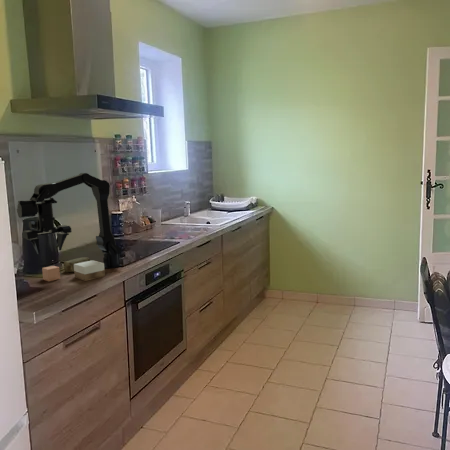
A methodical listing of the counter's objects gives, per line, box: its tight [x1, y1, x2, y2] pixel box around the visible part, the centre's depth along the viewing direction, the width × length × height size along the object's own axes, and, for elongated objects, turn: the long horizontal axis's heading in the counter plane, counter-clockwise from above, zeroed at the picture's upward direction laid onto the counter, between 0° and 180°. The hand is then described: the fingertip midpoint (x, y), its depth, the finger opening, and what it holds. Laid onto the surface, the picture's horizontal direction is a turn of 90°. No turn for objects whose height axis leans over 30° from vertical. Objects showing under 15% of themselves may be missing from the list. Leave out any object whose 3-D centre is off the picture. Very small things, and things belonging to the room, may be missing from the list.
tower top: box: [74, 259, 105, 274], centre depth 195 cm, size 9×9×3 cm
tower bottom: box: [73, 269, 106, 282], centre depth 195 cm, size 9×9×3 cm
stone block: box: [63, 256, 91, 273], centre depth 208 cm, size 6×12×5 cm, turn 148°
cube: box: [41, 265, 61, 282], centre depth 194 cm, size 5×5×5 cm
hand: (49, 252), depth 192 cm, fingers open, 9 cm apart
